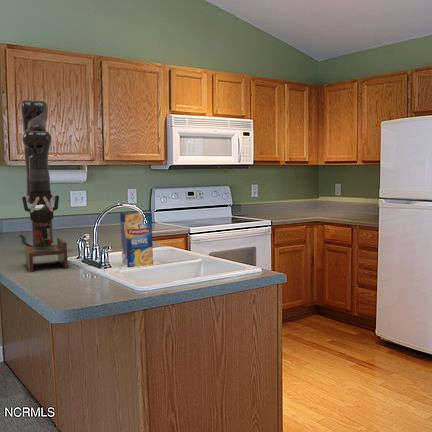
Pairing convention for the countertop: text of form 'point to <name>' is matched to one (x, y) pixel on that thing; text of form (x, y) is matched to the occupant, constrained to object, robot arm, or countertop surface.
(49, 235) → the deodorant
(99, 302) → the countertop surface
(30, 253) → the shelf
